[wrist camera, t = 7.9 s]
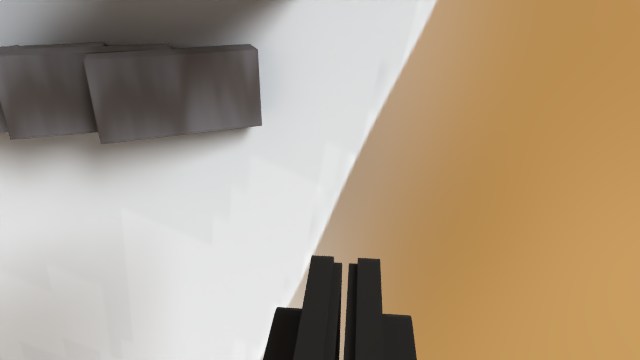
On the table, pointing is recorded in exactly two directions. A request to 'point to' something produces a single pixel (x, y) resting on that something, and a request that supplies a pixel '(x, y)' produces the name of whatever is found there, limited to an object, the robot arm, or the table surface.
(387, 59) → the table surface
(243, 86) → the domino
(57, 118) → the domino
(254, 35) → the table surface
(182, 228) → the table surface
